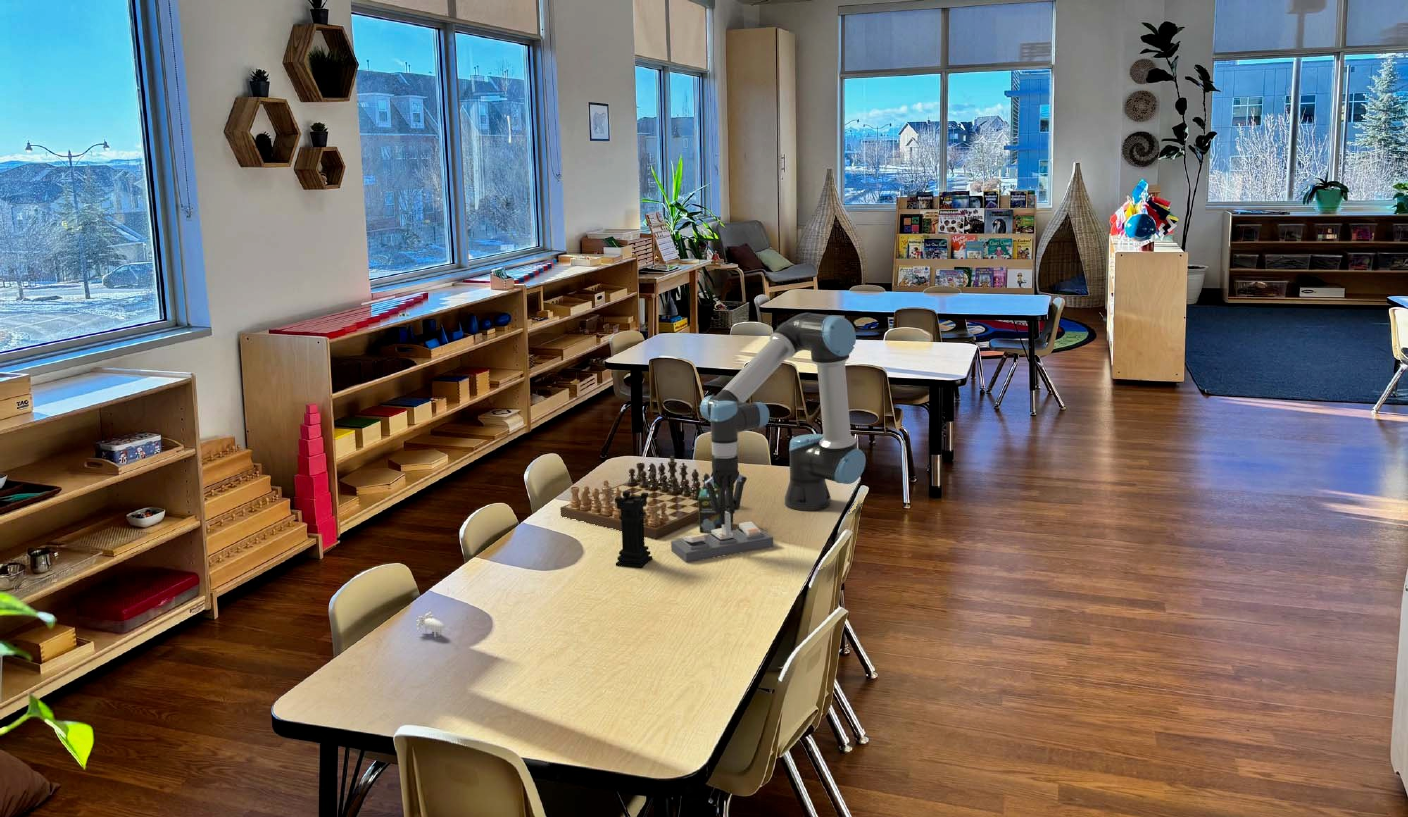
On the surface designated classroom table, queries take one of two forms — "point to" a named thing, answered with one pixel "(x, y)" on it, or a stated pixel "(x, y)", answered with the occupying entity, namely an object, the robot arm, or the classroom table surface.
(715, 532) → the middle rocker
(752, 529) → the rocker
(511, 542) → the classroom table surface
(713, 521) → the chalk box
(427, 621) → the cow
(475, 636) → the classroom table surface
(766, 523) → the classroom table surface
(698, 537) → the rocker
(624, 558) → the chess piece
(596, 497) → the chess set
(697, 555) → the rocker switch panel
